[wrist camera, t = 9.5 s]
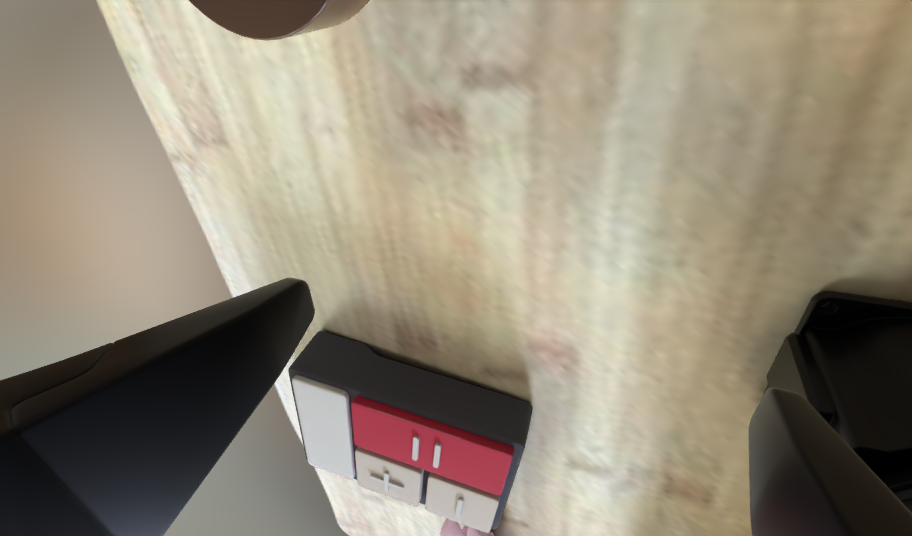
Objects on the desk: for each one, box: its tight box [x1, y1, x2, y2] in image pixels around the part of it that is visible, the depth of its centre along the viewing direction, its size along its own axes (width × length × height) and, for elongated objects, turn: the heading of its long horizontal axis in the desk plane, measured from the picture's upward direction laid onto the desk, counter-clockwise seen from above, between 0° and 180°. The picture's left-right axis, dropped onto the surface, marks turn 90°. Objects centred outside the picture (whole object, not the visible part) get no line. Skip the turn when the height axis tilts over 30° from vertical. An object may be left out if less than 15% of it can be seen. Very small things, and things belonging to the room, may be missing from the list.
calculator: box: [289, 331, 532, 533], centre depth 31 cm, size 11×4×15 cm
